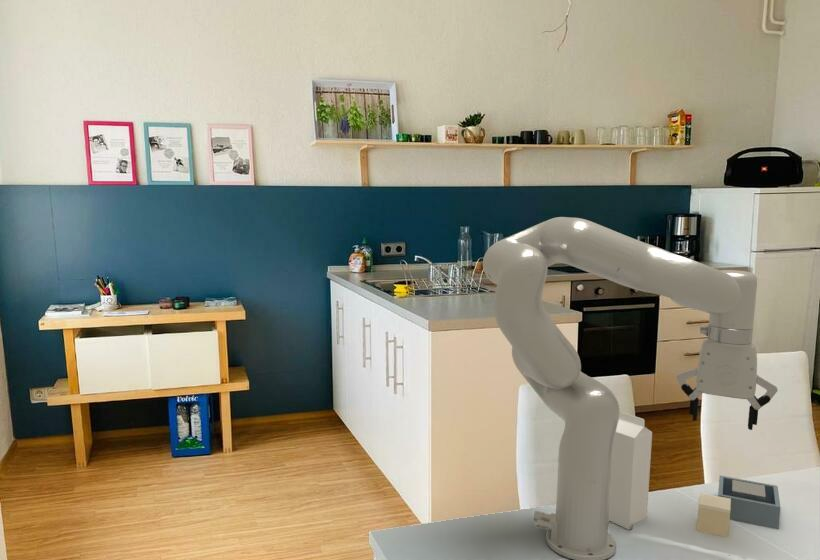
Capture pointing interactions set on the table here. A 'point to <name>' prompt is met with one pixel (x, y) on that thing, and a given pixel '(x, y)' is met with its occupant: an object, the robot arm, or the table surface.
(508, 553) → the table surface
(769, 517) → the tote
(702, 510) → the beige cube
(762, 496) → the block
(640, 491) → the milk
